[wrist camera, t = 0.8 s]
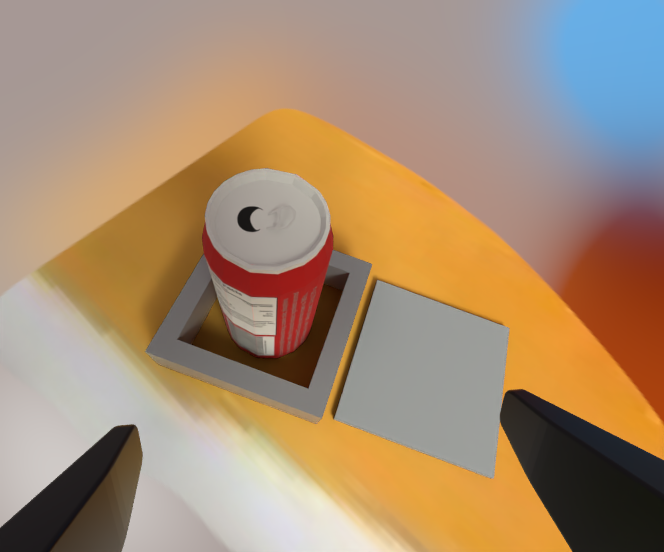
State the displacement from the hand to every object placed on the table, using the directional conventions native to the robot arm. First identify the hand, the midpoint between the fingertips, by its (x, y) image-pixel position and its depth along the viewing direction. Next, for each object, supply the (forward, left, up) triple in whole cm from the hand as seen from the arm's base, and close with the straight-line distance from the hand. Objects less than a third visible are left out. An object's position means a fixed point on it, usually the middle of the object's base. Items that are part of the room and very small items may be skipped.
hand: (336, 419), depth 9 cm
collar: (+7, +5, -14) cm, 17 cm away
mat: (+7, -6, -14) cm, 17 cm away
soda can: (+7, +5, -15) cm, 17 cm away
